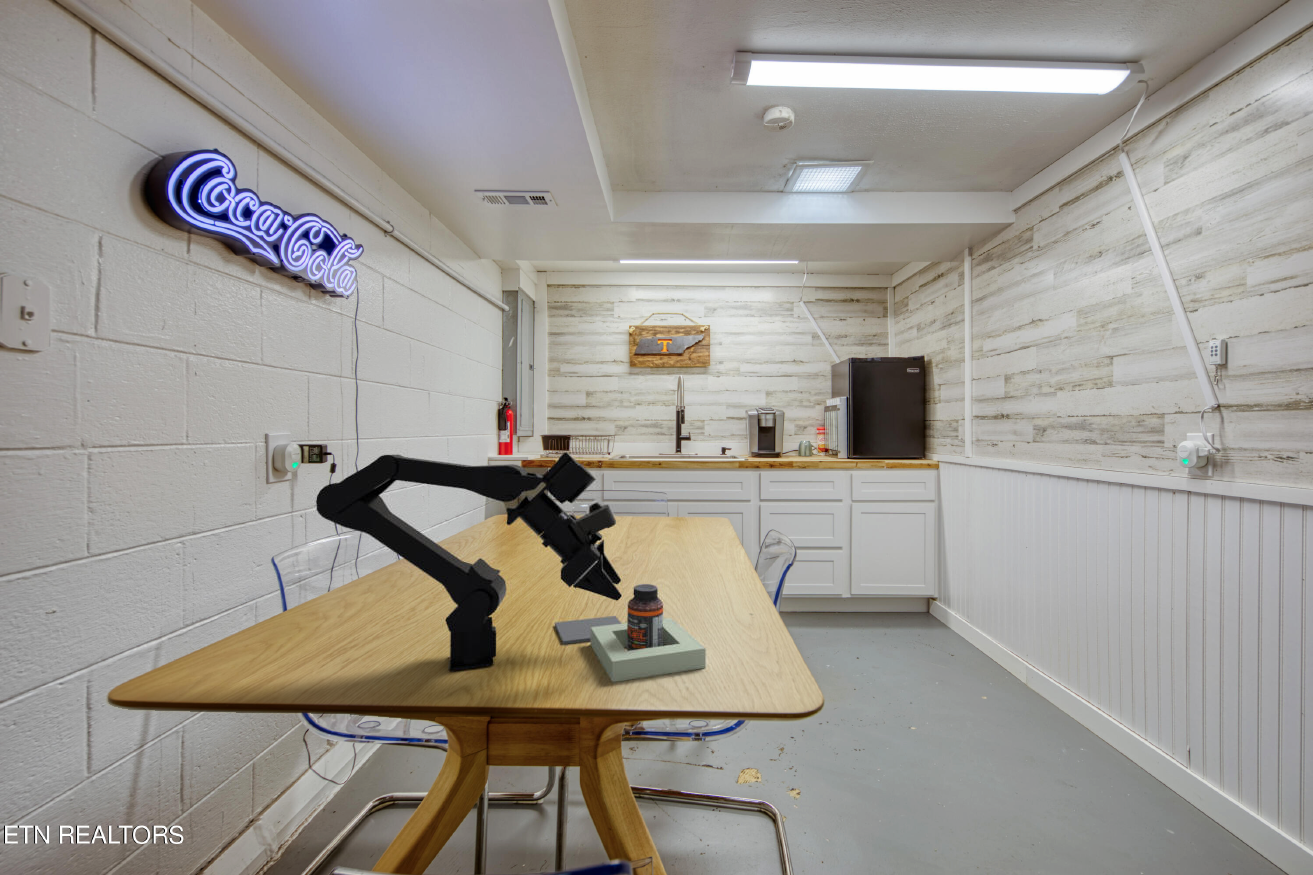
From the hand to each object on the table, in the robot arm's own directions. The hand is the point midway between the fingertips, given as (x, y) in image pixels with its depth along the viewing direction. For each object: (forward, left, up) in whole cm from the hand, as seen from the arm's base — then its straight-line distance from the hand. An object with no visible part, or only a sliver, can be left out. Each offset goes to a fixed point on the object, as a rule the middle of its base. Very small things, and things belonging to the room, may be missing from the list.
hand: (619, 589), depth 84 cm
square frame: (+4, -1, -11) cm, 12 cm away
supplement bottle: (+4, -1, -11) cm, 12 cm away
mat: (-2, +13, -11) cm, 17 cm away
